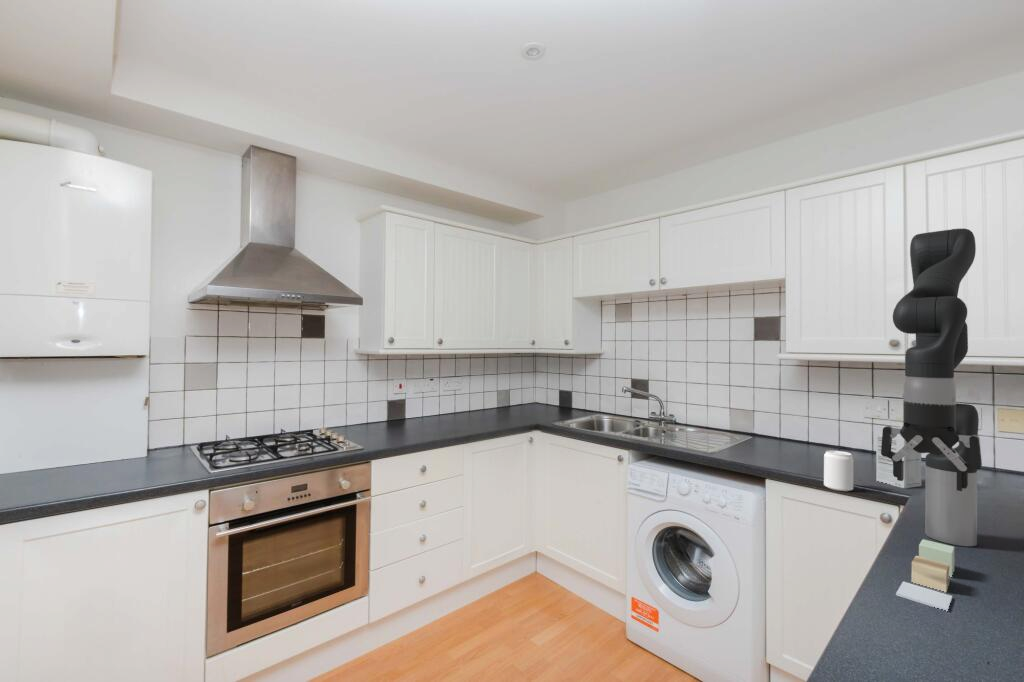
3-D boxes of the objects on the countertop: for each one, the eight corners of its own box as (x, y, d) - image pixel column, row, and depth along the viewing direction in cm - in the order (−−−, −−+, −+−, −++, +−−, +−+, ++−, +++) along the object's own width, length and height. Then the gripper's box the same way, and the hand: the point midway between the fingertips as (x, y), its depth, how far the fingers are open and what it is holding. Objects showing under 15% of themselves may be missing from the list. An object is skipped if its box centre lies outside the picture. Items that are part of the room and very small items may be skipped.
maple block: (915, 575, 94) (915, 555, 94) (949, 585, 91) (949, 564, 91) (911, 583, 91) (911, 562, 91) (946, 593, 87) (946, 571, 87)
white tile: (902, 583, 90) (902, 581, 90) (952, 598, 85) (952, 595, 85) (896, 595, 86) (896, 593, 86) (947, 611, 81) (947, 609, 81)
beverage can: (841, 485, 160) (841, 450, 160) (859, 492, 152) (859, 455, 152) (818, 484, 160) (818, 449, 160) (835, 492, 152) (835, 455, 152)
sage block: (922, 562, 100) (922, 539, 100) (954, 571, 97) (954, 546, 97) (918, 569, 97) (918, 545, 97) (951, 578, 93) (951, 553, 93)
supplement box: (892, 479, 169) (893, 433, 170) (922, 486, 161) (922, 437, 161) (875, 481, 166) (875, 434, 167) (904, 488, 157) (904, 438, 158)
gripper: (982, 402, 87) (982, 490, 86) (886, 396, 97) (886, 473, 97) (979, 405, 82) (980, 498, 81) (878, 398, 92) (878, 480, 92)
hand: (928, 484), depth 89 cm, fingers open, 8 cm apart
